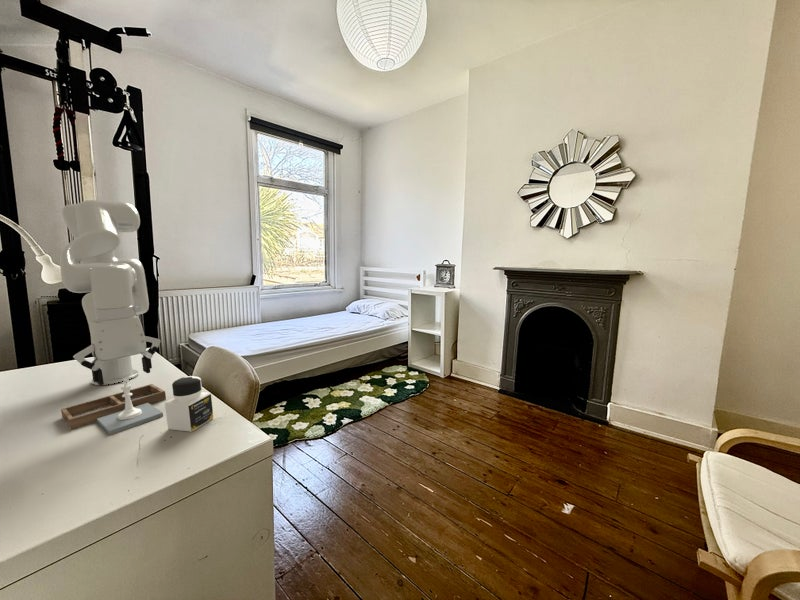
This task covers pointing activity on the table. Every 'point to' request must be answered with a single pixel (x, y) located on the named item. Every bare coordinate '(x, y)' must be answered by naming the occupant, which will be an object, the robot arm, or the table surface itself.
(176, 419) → the medicine bottle
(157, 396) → the bay frame
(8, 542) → the table surface
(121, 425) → the pad
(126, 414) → the chess piece
